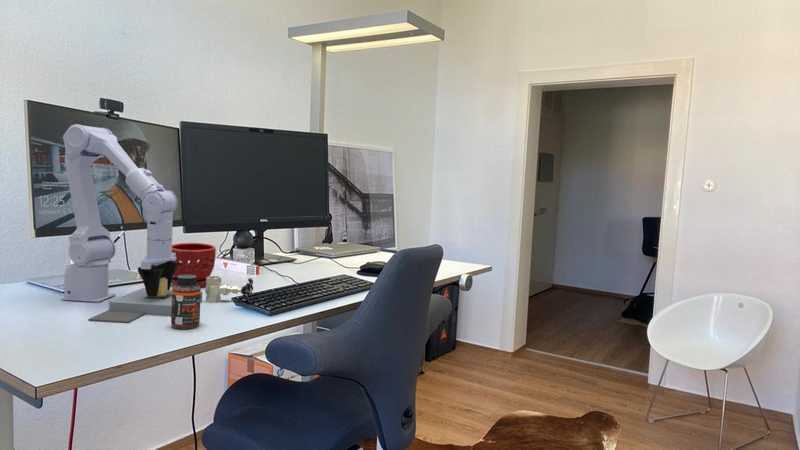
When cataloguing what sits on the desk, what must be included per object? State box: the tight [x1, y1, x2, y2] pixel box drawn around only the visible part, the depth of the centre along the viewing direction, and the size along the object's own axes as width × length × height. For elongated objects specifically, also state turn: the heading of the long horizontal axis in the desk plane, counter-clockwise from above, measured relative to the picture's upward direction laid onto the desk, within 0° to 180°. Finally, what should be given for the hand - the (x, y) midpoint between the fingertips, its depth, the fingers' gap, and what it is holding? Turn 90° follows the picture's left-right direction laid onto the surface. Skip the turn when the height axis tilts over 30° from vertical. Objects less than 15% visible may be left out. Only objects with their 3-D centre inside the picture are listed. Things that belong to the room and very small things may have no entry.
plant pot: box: [171, 242, 217, 288], centre depth 158 cm, size 13×13×12 cm
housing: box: [108, 287, 203, 317], centre depth 133 cm, size 16×16×2 cm
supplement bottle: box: [170, 275, 202, 330], centre depth 118 cm, size 6×6×11 cm
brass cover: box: [150, 277, 168, 299], centre depth 133 cm, size 4×4×7 cm
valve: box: [204, 275, 254, 304], centre depth 142 cm, size 7×7×12 cm
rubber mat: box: [87, 309, 145, 324], centre depth 122 cm, size 9×9×1 cm
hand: (158, 292), depth 133 cm, fingers open, 6 cm apart
